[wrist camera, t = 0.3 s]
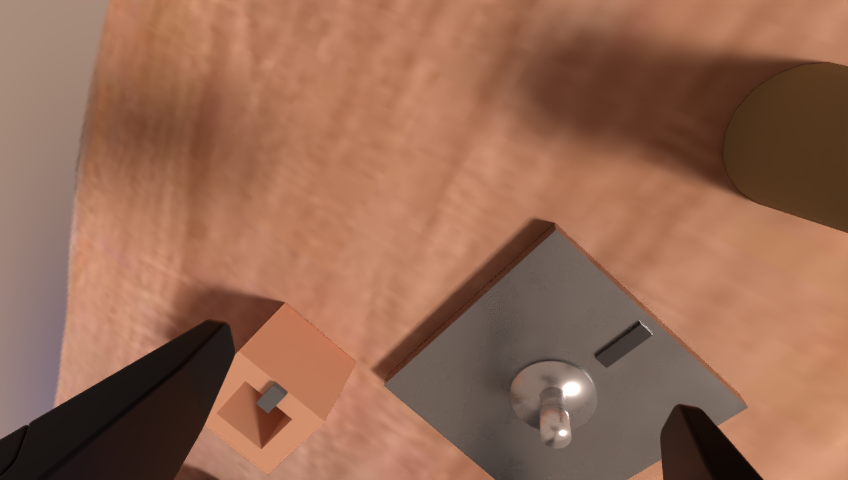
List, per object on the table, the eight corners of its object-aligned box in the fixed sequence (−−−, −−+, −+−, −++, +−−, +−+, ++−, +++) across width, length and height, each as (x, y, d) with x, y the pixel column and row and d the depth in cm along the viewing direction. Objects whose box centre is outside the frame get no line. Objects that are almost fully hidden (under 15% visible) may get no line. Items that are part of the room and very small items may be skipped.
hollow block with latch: (305, 411, 31) (264, 479, 26) (238, 356, 30) (183, 414, 25) (356, 362, 29) (322, 425, 24) (285, 302, 28) (235, 354, 23)
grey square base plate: (549, 511, 30) (552, 575, 26) (388, 374, 29) (367, 422, 25) (739, 394, 25) (776, 453, 21) (554, 223, 24) (560, 254, 20)
